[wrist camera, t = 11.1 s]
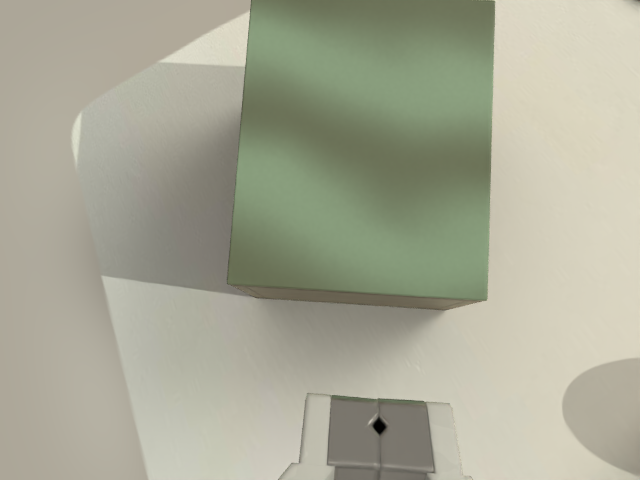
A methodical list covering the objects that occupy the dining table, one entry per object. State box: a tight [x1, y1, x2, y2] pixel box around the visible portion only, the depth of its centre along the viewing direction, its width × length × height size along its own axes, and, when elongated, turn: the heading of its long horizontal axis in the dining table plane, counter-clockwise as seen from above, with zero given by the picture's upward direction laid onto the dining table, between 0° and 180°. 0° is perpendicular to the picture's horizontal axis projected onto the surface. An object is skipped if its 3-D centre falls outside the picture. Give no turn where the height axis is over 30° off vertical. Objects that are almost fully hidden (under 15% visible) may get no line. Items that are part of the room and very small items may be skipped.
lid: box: [227, 0, 495, 301], centre depth 30 cm, size 17×14×1 cm
